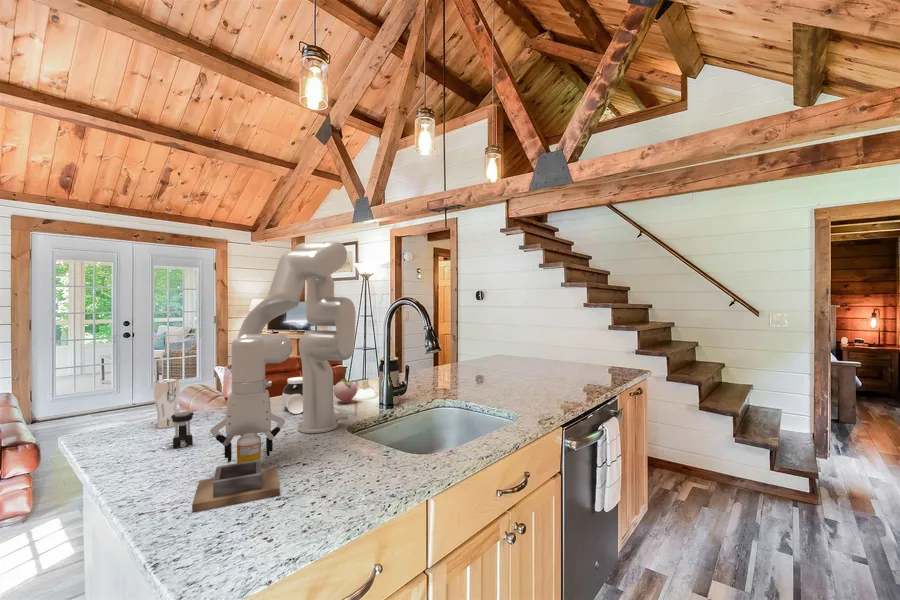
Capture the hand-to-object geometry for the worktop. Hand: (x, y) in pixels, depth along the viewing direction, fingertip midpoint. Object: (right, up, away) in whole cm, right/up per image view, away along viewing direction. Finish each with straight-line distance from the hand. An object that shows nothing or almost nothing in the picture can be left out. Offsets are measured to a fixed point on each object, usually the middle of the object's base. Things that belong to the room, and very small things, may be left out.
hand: (249, 457), depth 103 cm
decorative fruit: (+8, -2, +63) cm, 63 cm away
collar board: (+4, -3, -13) cm, 13 cm away
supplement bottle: (0, -3, 0) cm, 3 cm away
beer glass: (-44, -3, +34) cm, 56 cm away
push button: (-27, -3, +15) cm, 31 cm away
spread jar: (-7, -3, +52) cm, 53 cm away
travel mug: (+26, -2, +62) cm, 67 cm away
